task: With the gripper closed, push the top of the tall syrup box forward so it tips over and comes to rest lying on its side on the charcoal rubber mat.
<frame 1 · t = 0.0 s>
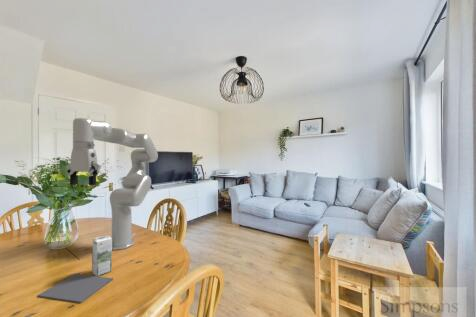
hand: (83, 184, 94), 37 cm above the table, tool pointing down, fingers open, 9 cm apart
syrup box: (101, 272, 89), on the table
mat: (77, 287, 78), on the table
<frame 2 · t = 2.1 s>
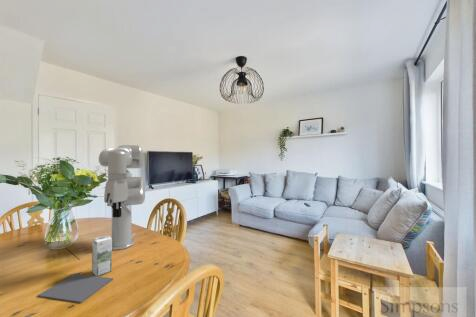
hand: (117, 216, 97), 21 cm above the table, tool pointing down, fingers closed
nothing on the table moved.
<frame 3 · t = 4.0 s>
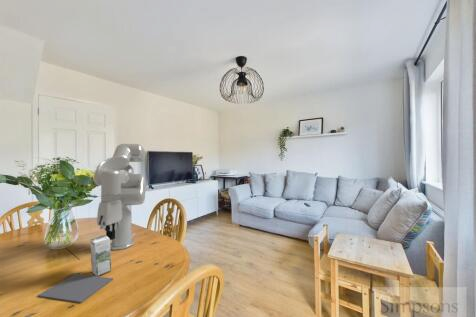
hand: (110, 239, 94), 12 cm above the table, tool pointing down, fingers closed
nothing on the table moved.
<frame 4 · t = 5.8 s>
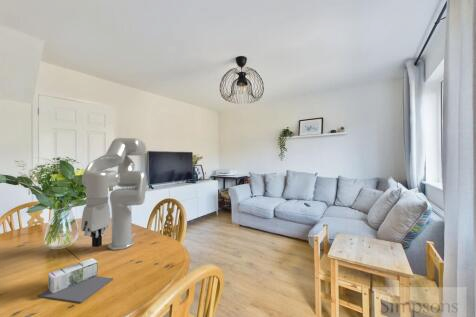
hand: (96, 245, 87), 12 cm above the table, tool pointing down, fingers closed
syrup box: (95, 266, 87), point 3 cm above the table, touching mat
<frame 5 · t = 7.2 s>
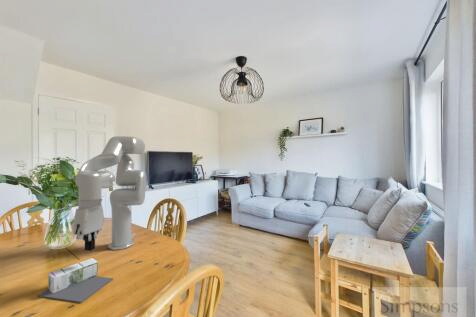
hand: (89, 249, 83), 12 cm above the table, tool pointing down, fingers closed
nothing on the table moved.
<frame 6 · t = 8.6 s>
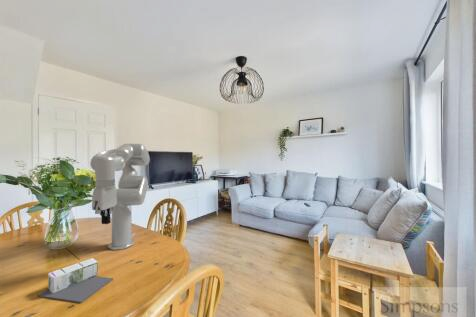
hand: (105, 223, 96), 19 cm above the table, tool pointing down, fingers closed
nothing on the table moved.
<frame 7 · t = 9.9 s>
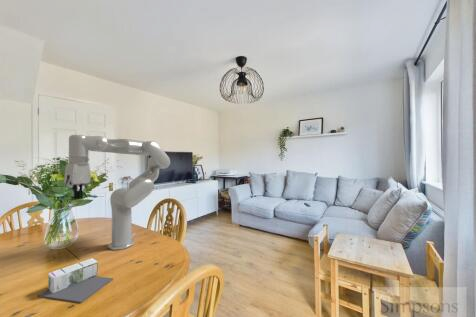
hand: (78, 198, 101), 29 cm above the table, tool pointing down, fingers closed
nothing on the table moved.
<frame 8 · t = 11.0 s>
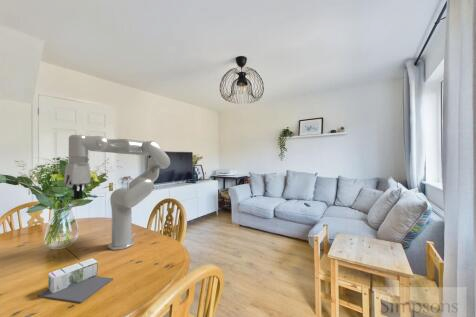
hand: (78, 198, 101), 29 cm above the table, tool pointing down, fingers closed
nothing on the table moved.
at the end: syrup box tilted 90°; syrup box inside the target area (3.2 cm from its centre), point 3.4 cm above the table; syrup box touching mat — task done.
